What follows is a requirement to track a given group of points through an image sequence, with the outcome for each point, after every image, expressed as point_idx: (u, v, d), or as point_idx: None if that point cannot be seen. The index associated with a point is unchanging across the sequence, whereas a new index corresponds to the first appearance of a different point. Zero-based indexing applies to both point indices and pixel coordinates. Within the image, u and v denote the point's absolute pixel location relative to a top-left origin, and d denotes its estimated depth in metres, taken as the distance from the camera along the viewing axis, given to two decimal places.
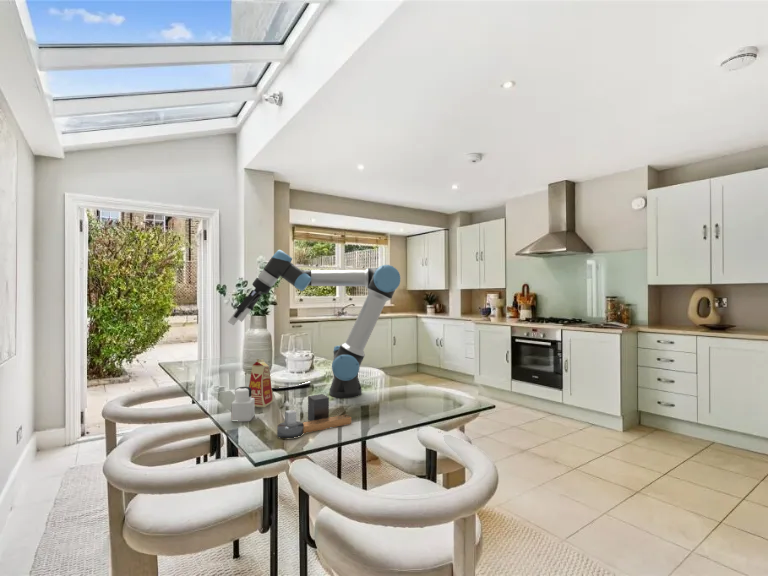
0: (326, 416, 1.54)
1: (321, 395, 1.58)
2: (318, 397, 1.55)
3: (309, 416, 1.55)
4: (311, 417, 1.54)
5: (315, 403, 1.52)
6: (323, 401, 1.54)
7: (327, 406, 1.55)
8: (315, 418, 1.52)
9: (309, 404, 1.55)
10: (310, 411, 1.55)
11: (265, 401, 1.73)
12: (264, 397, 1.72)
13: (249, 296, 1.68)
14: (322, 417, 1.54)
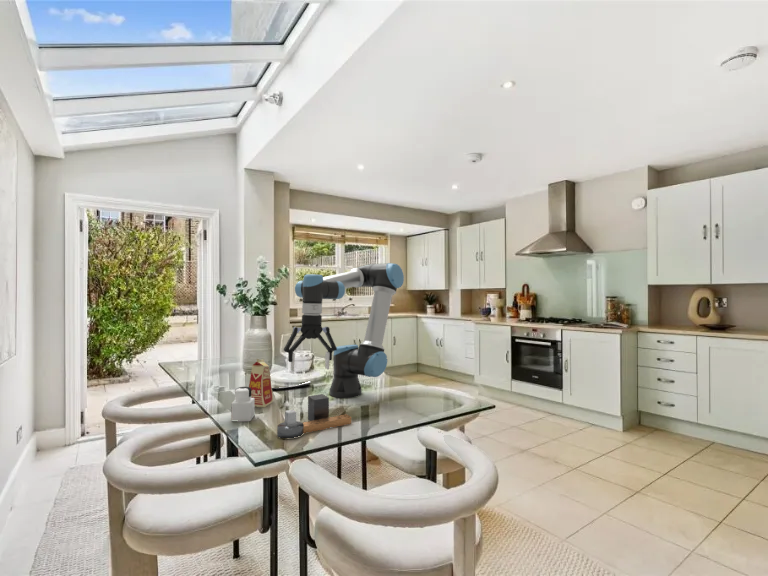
0: (326, 416, 1.54)
1: (321, 395, 1.58)
2: (318, 397, 1.55)
3: (309, 416, 1.55)
4: (311, 417, 1.54)
5: (315, 403, 1.52)
6: (323, 401, 1.54)
7: (327, 406, 1.55)
8: (315, 418, 1.52)
9: (309, 404, 1.55)
10: (310, 411, 1.55)
11: (265, 401, 1.73)
12: (264, 397, 1.72)
13: None
14: (322, 417, 1.54)
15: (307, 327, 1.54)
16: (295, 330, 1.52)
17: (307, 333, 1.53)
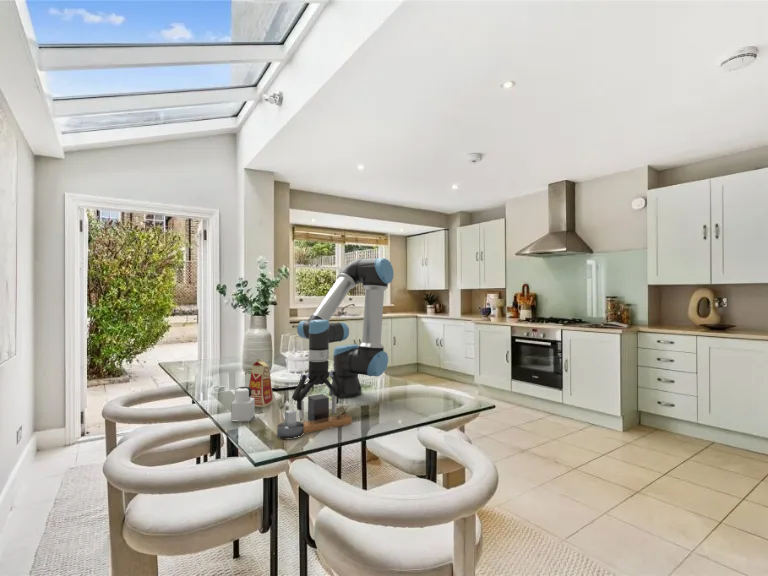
0: (326, 416, 1.54)
1: (321, 395, 1.58)
2: (318, 397, 1.55)
3: (309, 416, 1.55)
4: (311, 417, 1.54)
5: (315, 403, 1.52)
6: (323, 401, 1.54)
7: (327, 406, 1.55)
8: (315, 418, 1.52)
9: (309, 404, 1.55)
10: (310, 411, 1.55)
11: (265, 401, 1.73)
12: (264, 397, 1.72)
13: None
14: (322, 417, 1.54)
15: (315, 373, 1.54)
16: (303, 378, 1.51)
17: (315, 380, 1.53)
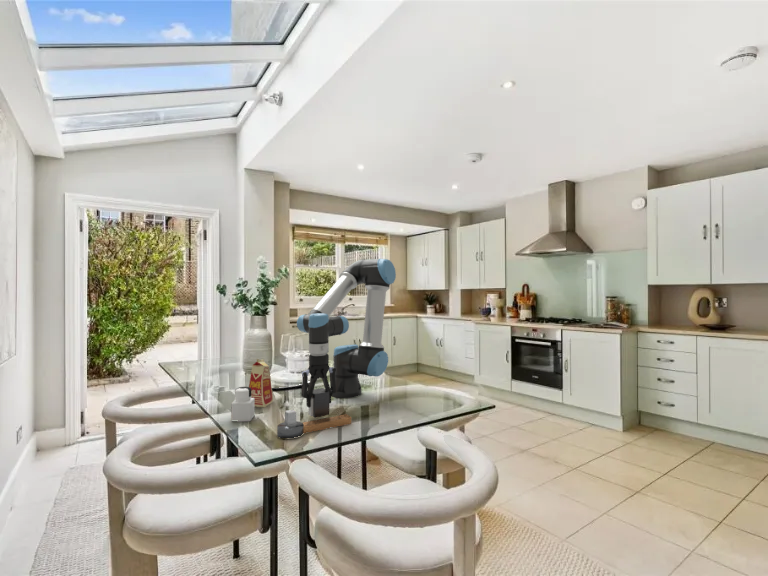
0: (327, 410, 1.55)
1: (321, 389, 1.58)
2: (318, 391, 1.55)
3: None
4: None
5: (316, 397, 1.52)
6: (324, 395, 1.54)
7: (328, 400, 1.55)
8: (316, 412, 1.52)
9: None
10: None
11: (265, 401, 1.73)
12: (264, 397, 1.72)
13: None
14: (323, 411, 1.54)
15: (314, 366, 1.53)
16: (305, 375, 1.51)
17: (316, 374, 1.53)
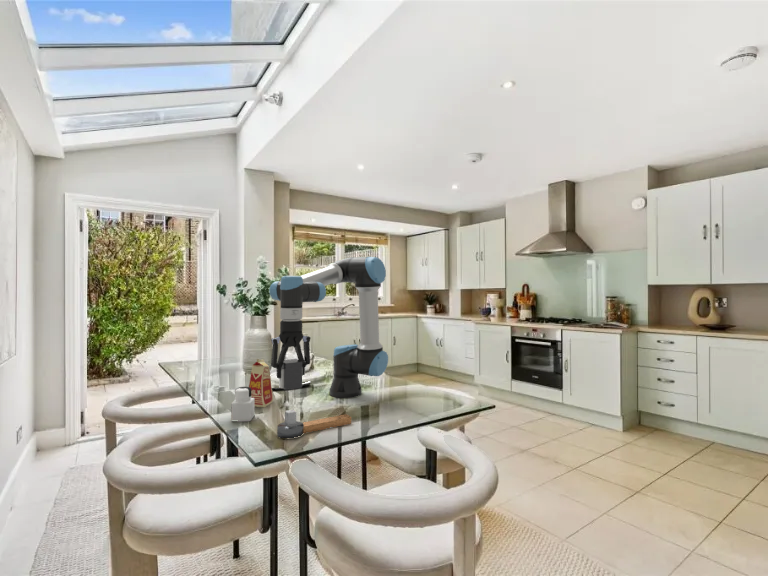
0: (299, 382, 1.40)
1: (294, 359, 1.43)
2: (290, 361, 1.41)
3: None
4: None
5: (286, 367, 1.37)
6: (296, 365, 1.39)
7: (300, 371, 1.40)
8: (286, 383, 1.37)
9: None
10: None
11: (265, 401, 1.73)
12: (264, 397, 1.72)
13: None
14: (294, 383, 1.39)
15: (285, 333, 1.39)
16: (275, 342, 1.37)
17: (288, 342, 1.39)
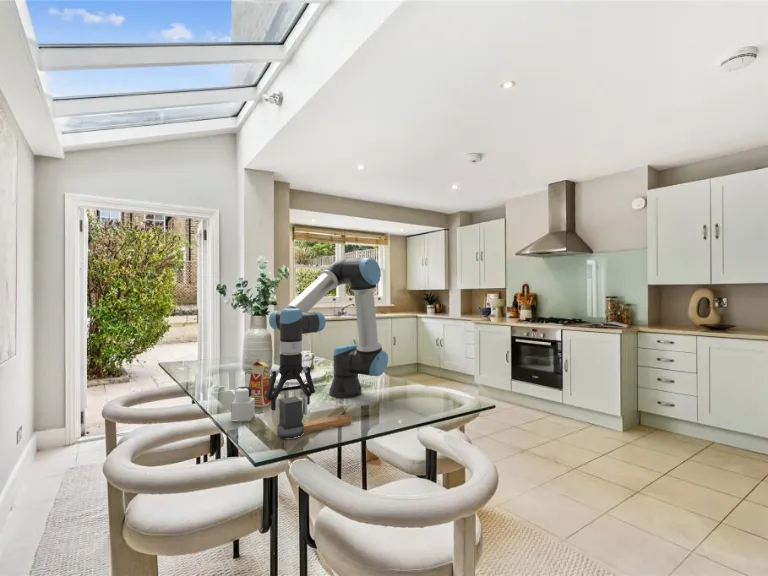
0: (299, 421, 1.40)
1: (294, 398, 1.43)
2: (290, 400, 1.41)
3: (280, 421, 1.41)
4: (282, 422, 1.40)
5: (286, 407, 1.38)
6: (295, 404, 1.39)
7: (300, 410, 1.40)
8: (286, 423, 1.38)
9: (280, 408, 1.41)
10: (281, 415, 1.40)
11: (265, 401, 1.73)
12: (264, 397, 1.72)
13: None
14: (294, 422, 1.39)
15: (286, 367, 1.39)
16: (274, 374, 1.37)
17: (287, 375, 1.39)
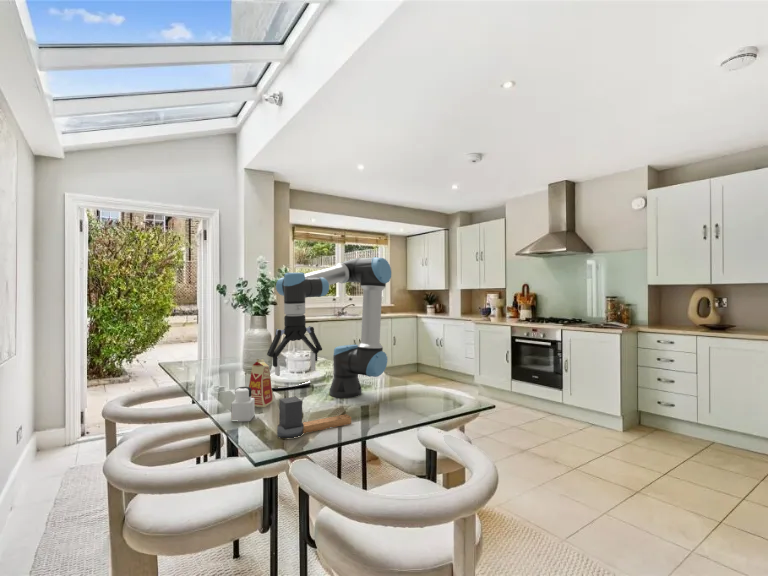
0: (299, 421, 1.40)
1: (294, 398, 1.43)
2: (290, 400, 1.41)
3: (280, 421, 1.41)
4: (282, 422, 1.40)
5: (286, 407, 1.38)
6: (295, 404, 1.39)
7: (300, 410, 1.40)
8: (286, 423, 1.38)
9: (280, 408, 1.41)
10: (281, 415, 1.40)
11: (265, 401, 1.73)
12: (264, 397, 1.72)
13: None
14: (294, 422, 1.39)
15: (291, 329, 1.45)
16: (279, 333, 1.43)
17: (291, 335, 1.45)
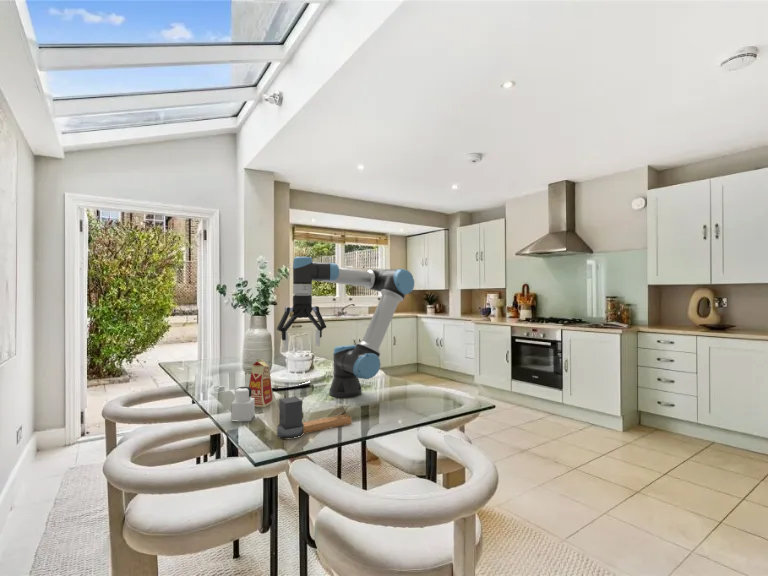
0: (299, 421, 1.40)
1: (294, 398, 1.43)
2: (290, 400, 1.41)
3: (280, 421, 1.41)
4: (282, 422, 1.40)
5: (286, 407, 1.38)
6: (295, 404, 1.39)
7: (300, 410, 1.40)
8: (286, 423, 1.38)
9: (280, 408, 1.41)
10: (281, 415, 1.40)
11: (265, 401, 1.73)
12: (264, 397, 1.72)
13: None
14: (294, 422, 1.39)
15: (298, 307, 1.62)
16: (288, 310, 1.60)
17: (299, 312, 1.62)
